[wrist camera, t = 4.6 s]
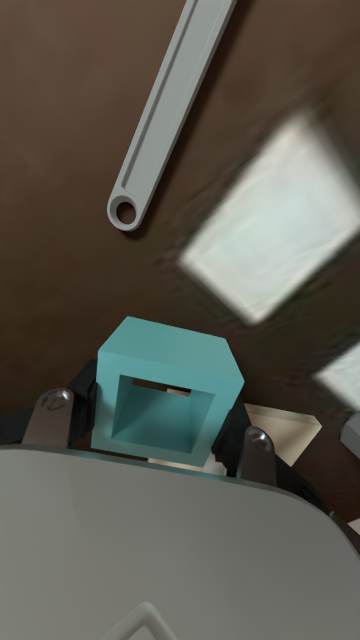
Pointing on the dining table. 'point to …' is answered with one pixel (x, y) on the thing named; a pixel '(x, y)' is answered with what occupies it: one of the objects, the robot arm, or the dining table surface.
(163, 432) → the collar
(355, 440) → the coffeepot
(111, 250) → the dining table surface
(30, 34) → the dining table surface
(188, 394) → the post stand
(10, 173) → the dining table surface
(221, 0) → the adjustable wrench
